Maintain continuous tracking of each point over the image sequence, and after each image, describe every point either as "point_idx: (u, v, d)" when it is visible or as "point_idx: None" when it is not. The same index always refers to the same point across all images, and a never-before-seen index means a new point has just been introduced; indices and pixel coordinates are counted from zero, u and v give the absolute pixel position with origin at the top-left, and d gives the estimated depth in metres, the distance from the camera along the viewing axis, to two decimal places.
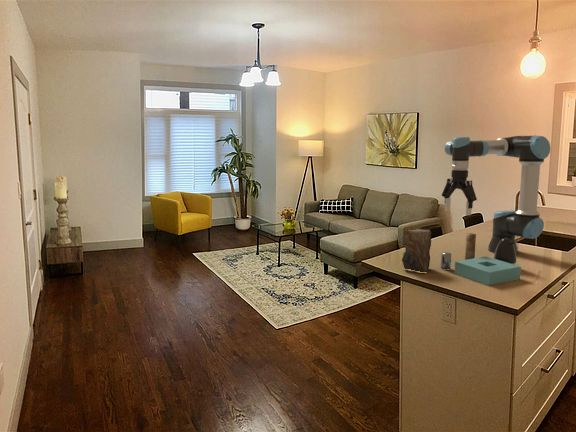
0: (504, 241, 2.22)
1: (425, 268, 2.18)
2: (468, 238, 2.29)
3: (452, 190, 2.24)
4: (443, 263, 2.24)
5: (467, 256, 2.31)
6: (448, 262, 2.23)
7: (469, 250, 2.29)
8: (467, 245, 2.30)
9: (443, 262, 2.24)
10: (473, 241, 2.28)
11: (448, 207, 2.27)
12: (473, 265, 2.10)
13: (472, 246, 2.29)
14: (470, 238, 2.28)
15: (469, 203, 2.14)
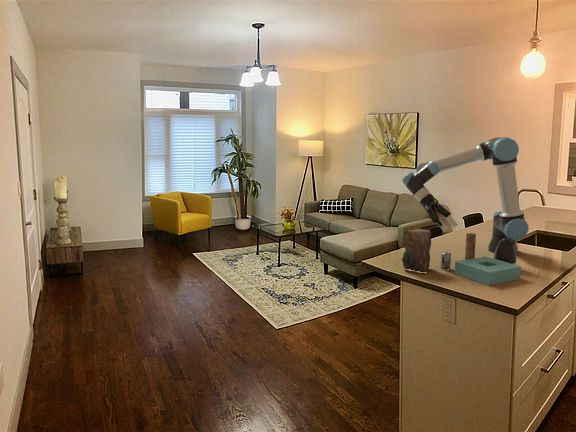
0: (504, 241, 2.22)
1: (425, 268, 2.18)
2: (468, 238, 2.29)
3: (440, 211, 2.42)
4: (443, 263, 2.24)
5: (467, 256, 2.31)
6: (448, 262, 2.23)
7: (469, 250, 2.29)
8: (467, 245, 2.30)
9: (443, 262, 2.24)
10: (473, 241, 2.28)
11: (453, 223, 2.41)
12: (473, 265, 2.10)
13: (472, 246, 2.29)
14: (470, 238, 2.28)
15: None
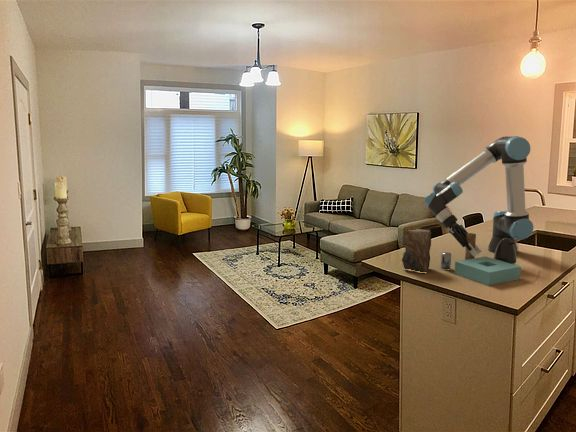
0: (504, 241, 2.22)
1: (425, 268, 2.18)
2: (468, 238, 2.29)
3: (462, 235, 2.35)
4: (443, 263, 2.24)
5: (467, 256, 2.31)
6: (448, 262, 2.23)
7: None
8: None
9: (443, 262, 2.24)
10: (473, 241, 2.28)
11: (476, 250, 2.31)
12: (473, 265, 2.10)
13: (472, 246, 2.29)
14: (470, 238, 2.28)
15: None
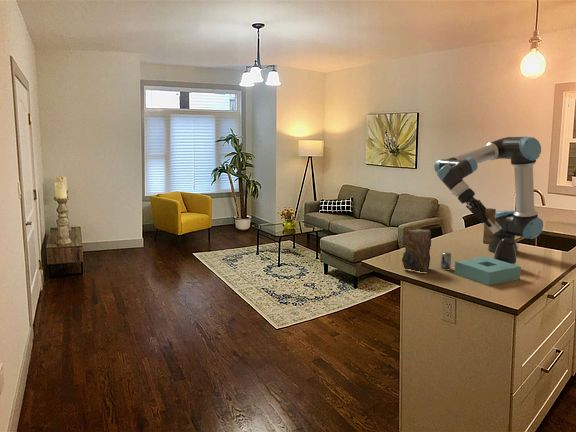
0: (504, 241, 2.22)
1: (425, 268, 2.18)
2: (487, 213, 2.07)
3: (480, 210, 2.12)
4: (443, 263, 2.24)
5: (486, 233, 2.08)
6: (448, 262, 2.23)
7: None
8: None
9: (443, 262, 2.24)
10: (493, 216, 2.06)
11: (496, 227, 2.09)
12: (473, 265, 2.10)
13: None
14: (489, 214, 2.06)
15: None
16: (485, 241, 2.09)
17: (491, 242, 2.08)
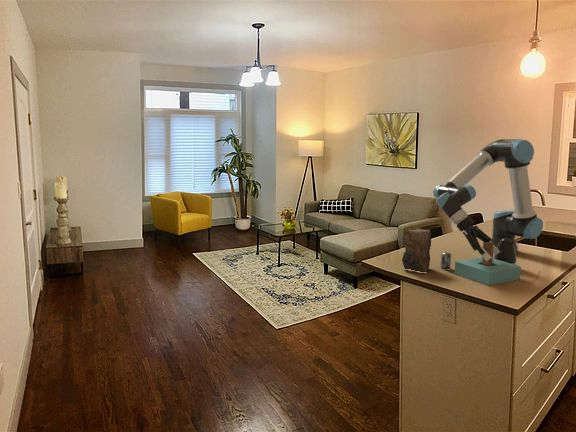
0: (504, 241, 2.22)
1: (425, 268, 2.18)
2: (485, 247, 2.10)
3: (479, 236, 2.16)
4: (443, 263, 2.24)
5: None
6: (448, 262, 2.23)
7: (487, 261, 2.10)
8: None
9: (443, 262, 2.24)
10: (491, 250, 2.09)
11: (494, 250, 2.15)
12: (473, 265, 2.10)
13: None
14: (487, 248, 2.09)
15: None
16: None
17: None
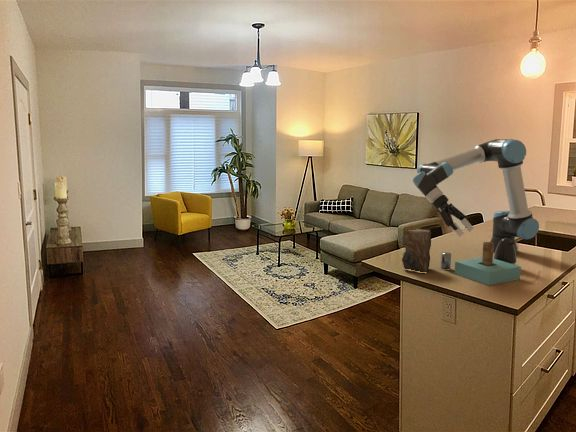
0: (504, 241, 2.22)
1: (425, 268, 2.18)
2: (485, 247, 2.10)
3: (454, 214, 2.23)
4: (443, 263, 2.24)
5: None
6: (448, 262, 2.23)
7: (487, 261, 2.10)
8: (484, 255, 2.11)
9: (443, 262, 2.24)
10: (491, 250, 2.09)
11: (469, 227, 2.22)
12: (473, 265, 2.10)
13: (490, 256, 2.09)
14: (487, 248, 2.09)
15: None
16: None
17: None
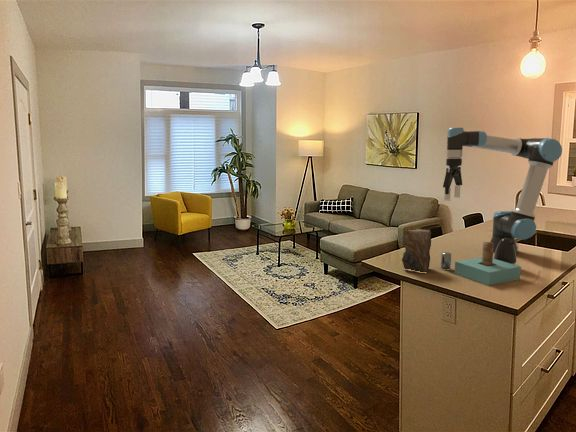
0: (504, 241, 2.22)
1: (425, 268, 2.18)
2: (485, 247, 2.10)
3: (455, 177, 2.38)
4: (443, 263, 2.24)
5: None
6: (448, 262, 2.23)
7: (487, 261, 2.10)
8: (484, 255, 2.11)
9: (443, 262, 2.24)
10: (491, 250, 2.09)
11: (457, 194, 2.41)
12: (473, 265, 2.10)
13: (489, 256, 2.09)
14: (487, 248, 2.09)
15: None
16: None
17: None
